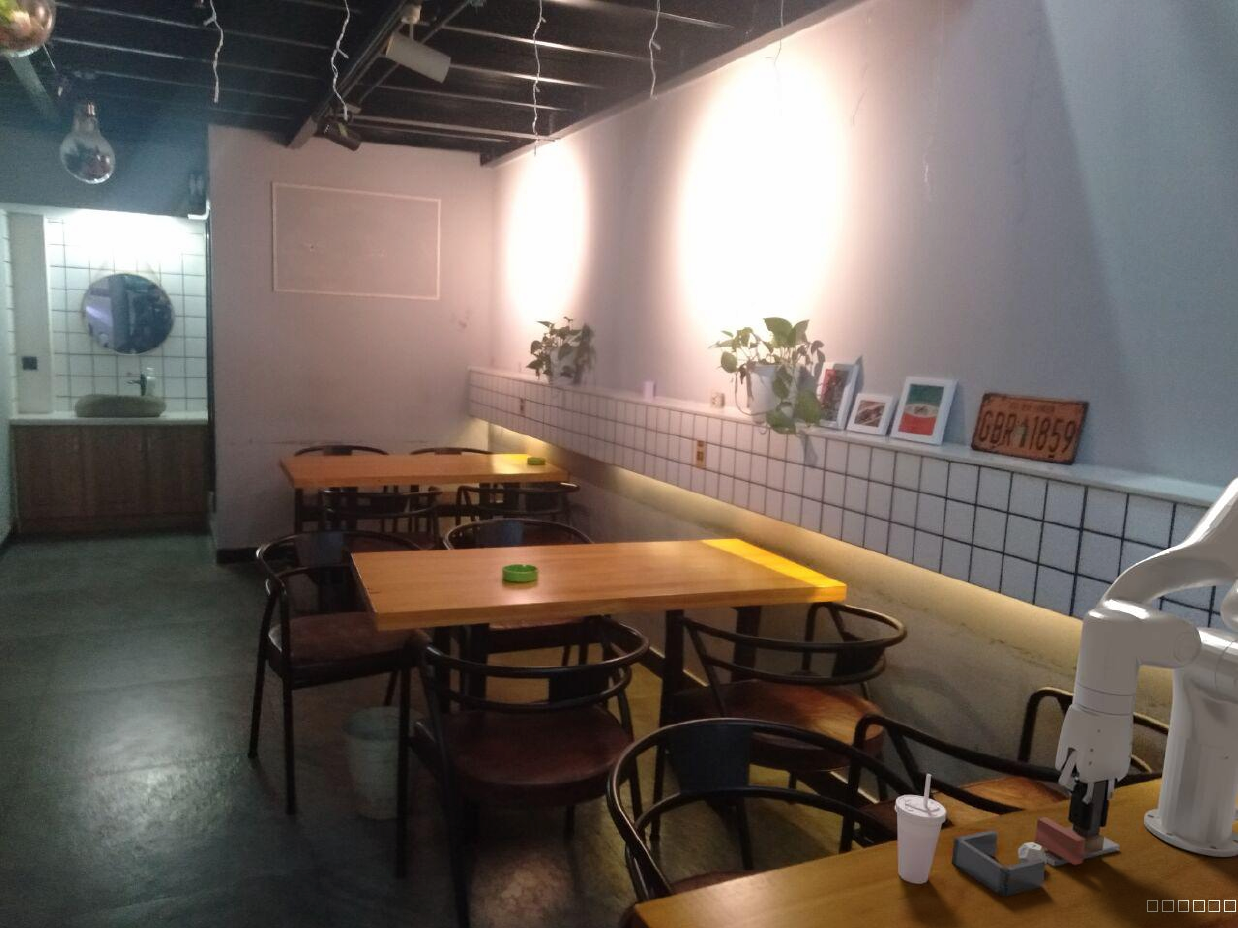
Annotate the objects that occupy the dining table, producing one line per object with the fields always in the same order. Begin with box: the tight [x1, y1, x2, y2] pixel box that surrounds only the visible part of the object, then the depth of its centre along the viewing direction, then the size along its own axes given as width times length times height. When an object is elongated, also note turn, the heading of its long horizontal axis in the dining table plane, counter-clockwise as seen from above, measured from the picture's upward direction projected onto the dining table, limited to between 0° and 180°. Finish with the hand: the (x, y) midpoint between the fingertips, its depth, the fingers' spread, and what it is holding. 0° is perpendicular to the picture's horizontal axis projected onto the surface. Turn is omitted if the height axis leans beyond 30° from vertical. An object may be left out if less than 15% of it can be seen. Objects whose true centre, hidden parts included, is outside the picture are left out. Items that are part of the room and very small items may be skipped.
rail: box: [1044, 836, 1120, 867], centre depth 129 cm, size 14×2×1 cm, turn 116°
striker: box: [1034, 780, 1106, 865], centre depth 128 cm, size 8×6×10 cm
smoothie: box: [894, 773, 947, 885], centre depth 120 cm, size 6×6×14 cm
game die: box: [1017, 841, 1048, 866], centre depth 125 cm, size 4×4×3 cm
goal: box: [951, 829, 1046, 898], centre depth 122 cm, size 7×9×4 cm
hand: (1086, 823), depth 129 cm, fingers closed on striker, 2 cm apart
